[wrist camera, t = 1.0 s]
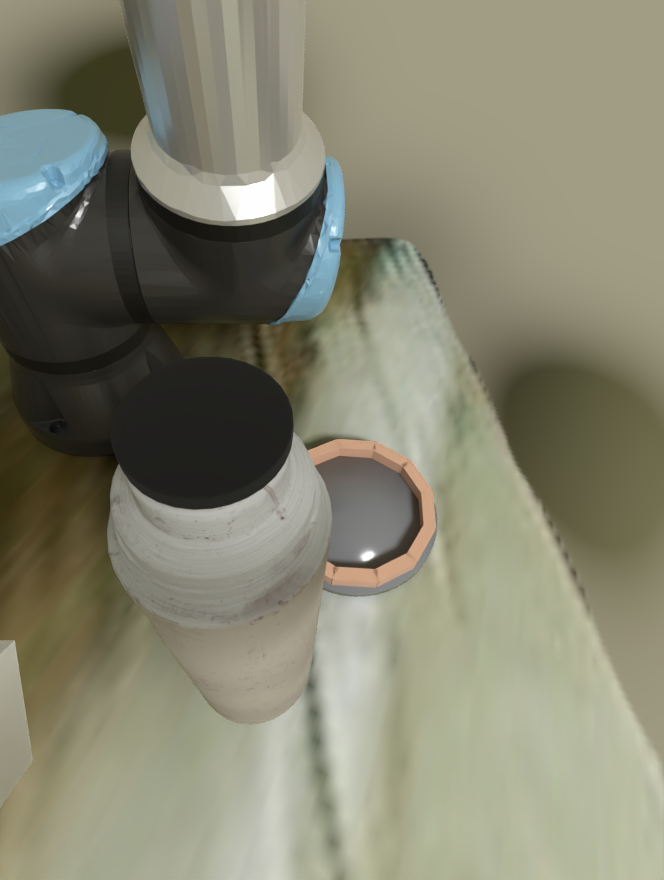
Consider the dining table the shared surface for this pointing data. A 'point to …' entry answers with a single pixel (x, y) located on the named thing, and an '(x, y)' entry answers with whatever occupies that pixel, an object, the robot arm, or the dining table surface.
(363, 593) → the coaster
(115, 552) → the thermos bottle
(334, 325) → the dining table surface
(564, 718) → the dining table surface
